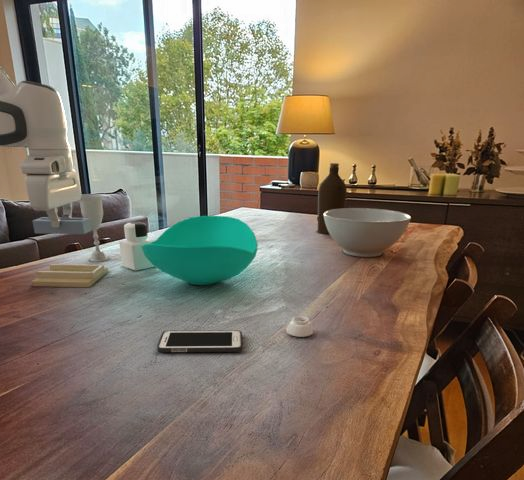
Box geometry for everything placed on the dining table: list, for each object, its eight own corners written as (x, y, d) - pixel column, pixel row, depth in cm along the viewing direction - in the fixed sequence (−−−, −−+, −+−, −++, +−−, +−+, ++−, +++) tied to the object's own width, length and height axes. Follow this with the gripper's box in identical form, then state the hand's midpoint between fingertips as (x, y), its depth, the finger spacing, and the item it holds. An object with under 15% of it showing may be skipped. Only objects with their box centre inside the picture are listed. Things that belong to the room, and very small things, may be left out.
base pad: (32, 286, 112) (30, 275, 110) (56, 270, 124) (55, 260, 123) (90, 287, 111) (88, 276, 110) (109, 271, 124) (107, 261, 123)
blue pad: (34, 233, 109) (32, 219, 108) (44, 229, 114) (41, 216, 112) (84, 234, 109) (82, 220, 108) (92, 230, 114) (90, 217, 112)
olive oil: (348, 231, 180) (354, 163, 169) (334, 235, 172) (339, 164, 162) (324, 228, 186) (329, 162, 175) (310, 232, 178) (314, 163, 168)
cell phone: (242, 352, 79) (242, 347, 78) (156, 353, 78) (155, 348, 78) (241, 334, 86) (241, 330, 85) (163, 335, 85) (162, 330, 85)
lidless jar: (317, 332, 87) (296, 326, 90) (318, 318, 86) (297, 312, 89) (302, 340, 84) (281, 333, 87) (303, 326, 83) (281, 319, 86)
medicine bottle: (143, 261, 134) (139, 219, 129) (157, 266, 129) (153, 223, 124) (121, 266, 129) (116, 222, 124) (134, 271, 125) (130, 226, 120)
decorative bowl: (376, 241, 164) (381, 206, 158) (422, 259, 141) (429, 219, 136) (308, 246, 156) (310, 209, 151) (344, 265, 133) (348, 223, 128)
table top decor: (171, 260, 136) (168, 214, 131) (263, 263, 134) (264, 217, 128) (122, 304, 100) (115, 244, 95) (247, 310, 98) (247, 248, 93)
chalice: (106, 262, 132) (97, 197, 125) (83, 262, 133) (72, 197, 125) (114, 256, 139) (106, 194, 131) (91, 256, 139) (82, 194, 131)
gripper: (57, 160, 114) (67, 217, 120) (15, 165, 96) (29, 232, 102) (82, 161, 114) (90, 217, 120) (45, 166, 96) (57, 232, 101)
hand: (62, 224), depth 111 cm, fingers closed on blue pad, 5 cm apart
